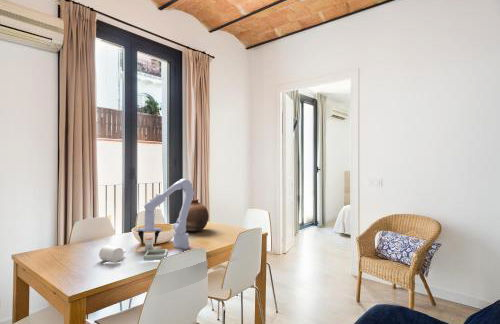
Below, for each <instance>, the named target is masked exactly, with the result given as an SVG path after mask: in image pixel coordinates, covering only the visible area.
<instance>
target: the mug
mask: <svg viewBox="0 0 500 324" xmlns="http://www.w3.org/2000/svg"><path fill="white" fill-rule="evenodd" d="M125 253H126V249H125V248H121V247H116V246H113V245H107V244H106V245H104V246H102V247H101V248H100V250H99V253H98V256H99V259H100V260H101V261H106V262H110V263H114V264H117V263H120V260H121V261H122V259H123V258H124V254H125Z"/></svg>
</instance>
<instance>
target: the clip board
mask: <svg viewBox="0 0 500 324" xmlns="http://www.w3.org/2000/svg"><path fill="white" fill-rule="evenodd" d="M162 247H163V246H161V245H160V246H153V249H152V250H154V249H162ZM147 250H151V245H146V246H145V245H144V246H138V247H137V249H136V250H135V253H146V252H147Z"/></svg>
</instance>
